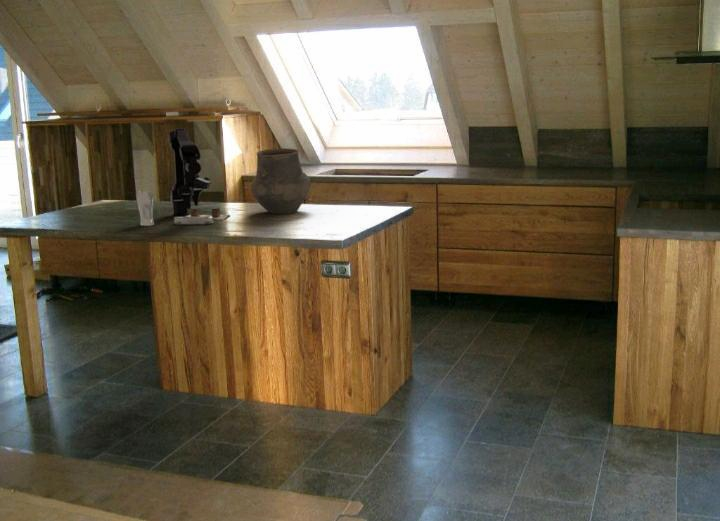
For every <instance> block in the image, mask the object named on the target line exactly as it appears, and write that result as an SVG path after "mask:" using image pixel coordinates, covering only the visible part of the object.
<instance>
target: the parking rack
mask: <svg viewBox="0 0 720 521" xmlns="http://www.w3.org/2000/svg"><path fill="white" fill-rule="evenodd" d="M210 210H211V211H210V212H211V214H200V208H199V207H191V208H190V214H187V215H185V217H208V216H212V217H213V222H215V221H216V222H217V221H218V222H219V221H220V222H221V221H222V222H223V221H225V220H227V219H229V218H231V214H221V212H220V210H221V207H212V208H211V209H210Z"/></svg>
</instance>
